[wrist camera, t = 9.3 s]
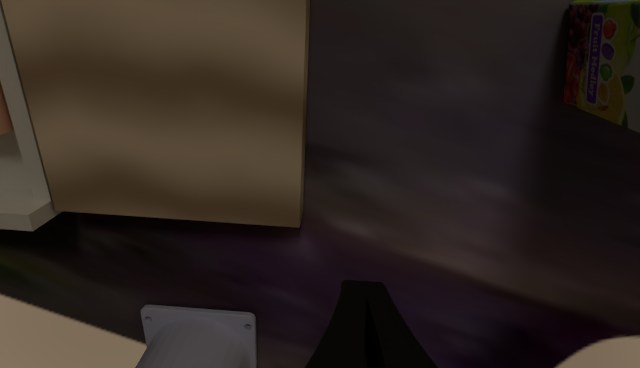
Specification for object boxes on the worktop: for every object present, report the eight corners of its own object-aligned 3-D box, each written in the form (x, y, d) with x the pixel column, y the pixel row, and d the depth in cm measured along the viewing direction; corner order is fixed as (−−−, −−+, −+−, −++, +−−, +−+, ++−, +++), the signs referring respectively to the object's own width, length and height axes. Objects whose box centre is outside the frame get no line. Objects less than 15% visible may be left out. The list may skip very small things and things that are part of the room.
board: (302, 211, 23) (299, 227, 21) (78, 195, 23) (55, 210, 22) (311, -59, 17) (308, -68, 16) (16, -72, 18) (-21, -83, 16)
